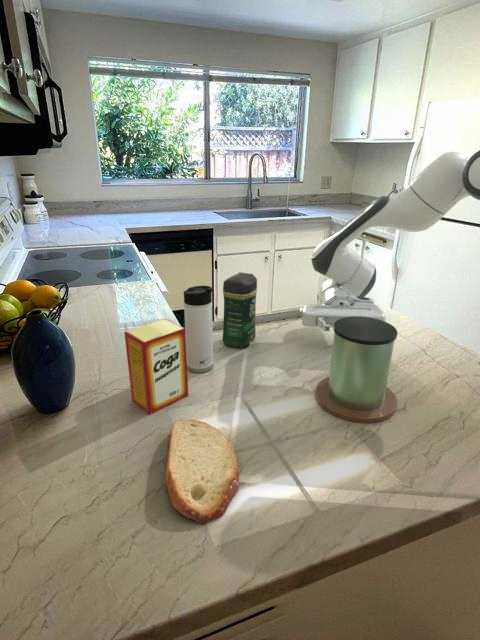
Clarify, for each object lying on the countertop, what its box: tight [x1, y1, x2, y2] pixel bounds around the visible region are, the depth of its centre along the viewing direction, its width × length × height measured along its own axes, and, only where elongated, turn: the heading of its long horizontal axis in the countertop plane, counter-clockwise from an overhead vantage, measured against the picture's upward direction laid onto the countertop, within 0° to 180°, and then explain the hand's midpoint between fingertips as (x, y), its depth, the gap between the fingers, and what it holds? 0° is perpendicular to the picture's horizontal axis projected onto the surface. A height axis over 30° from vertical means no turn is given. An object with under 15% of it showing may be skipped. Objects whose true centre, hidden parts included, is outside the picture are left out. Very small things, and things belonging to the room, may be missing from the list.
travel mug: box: [183, 285, 214, 374], centre depth 92 cm, size 6×7×20 cm
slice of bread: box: [165, 419, 240, 524], centre depth 65 cm, size 18×18×4 cm
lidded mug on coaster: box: [314, 316, 398, 424], centre depth 80 cm, size 16×18×16 cm
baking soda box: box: [123, 318, 189, 415], centre depth 81 cm, size 10×6×16 cm
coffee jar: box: [222, 271, 258, 349], centre depth 106 cm, size 10×8×19 cm
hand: (347, 329), depth 94 cm, fingers open, 8 cm apart
